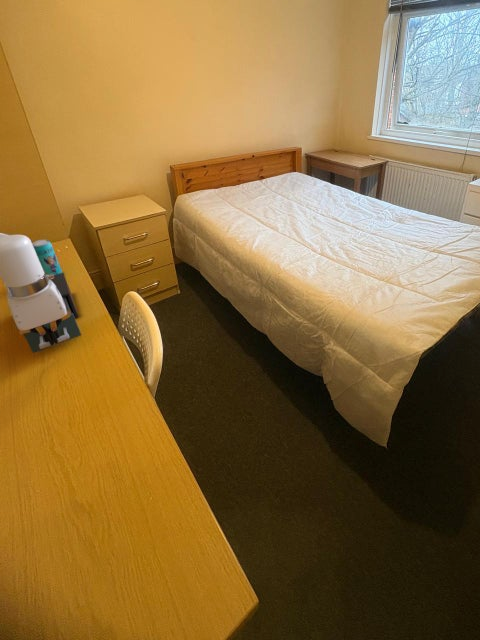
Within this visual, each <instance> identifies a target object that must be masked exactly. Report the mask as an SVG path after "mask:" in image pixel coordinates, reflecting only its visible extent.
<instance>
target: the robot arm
mask: <svg viewBox="0 0 480 640" xmlns="http://www.w3.org/2000/svg"><path fill="white" fill-rule="evenodd" d="M32 243H33V242H32V240H31V239H30V238H29V237H28V236H27V235H23V234H7V233H2V232H0V278H1V279H2V282H3V284H4V286H5V288H6V290H7V293H6V300H7V305H8V308H9V310H10V314H11V316H12V319H13V321H14V323H15V325H16V328H17V329H18V334H20V335H24V333H29V332H34V333H39V334H40V335H43V337H44V339H45V341H46V343H47V342H49V343H50V345H51V346H52V345H53V344H54V343H56V344H57V343H58V339H57V338H60V335H59V333H58V330H57V327H58V326H59V324H60V323H61V322H62V321H63V320H65V319H67V318H69V317H70V312H69V311H68V310H67V309H66V305H65V303H64V300H63V298H62V296H61V294H60V292H59V290H58V289H57V287H56V286H55V284H54V283H53V282H52V281H51V279H53V278H54V275H53V273H52V274H47V273H45V272H44V271H43V268H42V266H41V263H40V261H39V259H38V256H37V254H36V252H35V249H34V247H33V245H32ZM49 322H50V326H49V328H47V327H45V326H44V324H47V323H49ZM57 345H58V344H57ZM52 347H53V346H52Z"/></svg>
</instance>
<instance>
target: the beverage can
mask: <svg viewBox="0 0 480 640" xmlns="http://www.w3.org/2000/svg"><path fill="white" fill-rule="evenodd" d="M32 245H33V247H34V249H35V252H36V254H37V256H38V259H39V261H40V263H41V266H42V268H43V271H44V272H45V273H47V274H52V273H53V275H57V274H60V273H63V270H62V268H61V266H60V265H61V264H60V262H59V260H58V257H57V255H56V253H55V250H54V246H53V244H52V242H50V240H49V239H45V238H44V239H38V240H36V241H34V242H32Z"/></svg>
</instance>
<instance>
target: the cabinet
mask: <svg viewBox="0 0 480 640" xmlns="http://www.w3.org/2000/svg"><path fill="white" fill-rule="evenodd" d="M51 281H52V282H53V283H54V284H55V286H56V287H57V289H58V290H59V292H60V294H61V296H62V297H65V296H66V299H67V302H68V304H69V307H70V309H71V312H72V313H73V315H74V318H75V319H78V318H79V313H78V311H77V306H76V303H75V301H74V297H73V293H72V292H71V289H70V286H69V284H68V281H67V279H66V275H65V273H64V272H62V273H60V274H57V275H54V278H53V279H51Z"/></svg>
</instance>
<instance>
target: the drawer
mask: <svg viewBox="0 0 480 640" xmlns="http://www.w3.org/2000/svg"><path fill="white" fill-rule="evenodd" d="M62 298H63V300H64V303H65V305H66V309H67V310H68V311H69V312H70V317H69V318H67V319H65V320H63V321H62V322H61V323H60V324H59V326H58V327H57V330H58V333H59V335H60V338H57V339H58V343H57V344H56V343H54V344H53V345H52V346H51V345H50V343H49V342H47V343H46V341H45V339H44V337H43V335H40V334H39V333H34V332H29V333H24V334H23V336H24V338H25V340H26V342H27V344H28V346H29V348H30V349H31V352H32V354H36V353H39V352H41V351H43V350H46V349H49V348H51V347H54V346H57V345H59V344H61V343H64V342H67V341H69V340H72V339H75V338H78V337H80V336H82V333H81V330H80V327H79V325H78V323H77V320H76V318H74V315H73V313H72V312H71V309H70V307H69V304H68V302H67V299H66V296H65V297H62ZM44 326H45V327H47V328H49V326H50V322H49V323H47V324H44Z"/></svg>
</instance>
